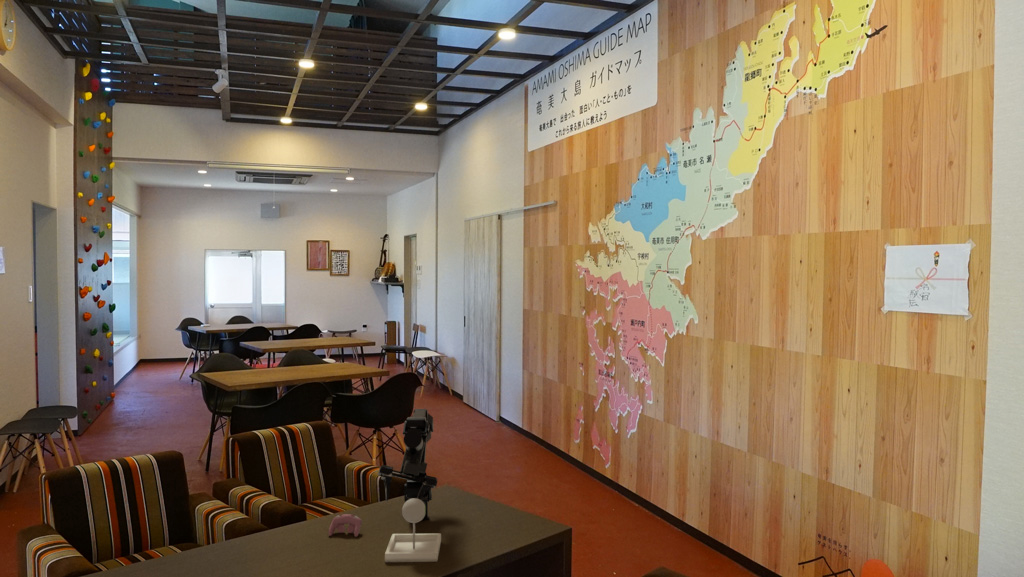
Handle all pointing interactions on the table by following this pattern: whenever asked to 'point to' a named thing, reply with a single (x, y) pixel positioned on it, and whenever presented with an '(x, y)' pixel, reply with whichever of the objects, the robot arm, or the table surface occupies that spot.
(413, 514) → the lollipop
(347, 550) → the table surface
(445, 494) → the table surface
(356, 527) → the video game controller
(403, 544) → the tray
